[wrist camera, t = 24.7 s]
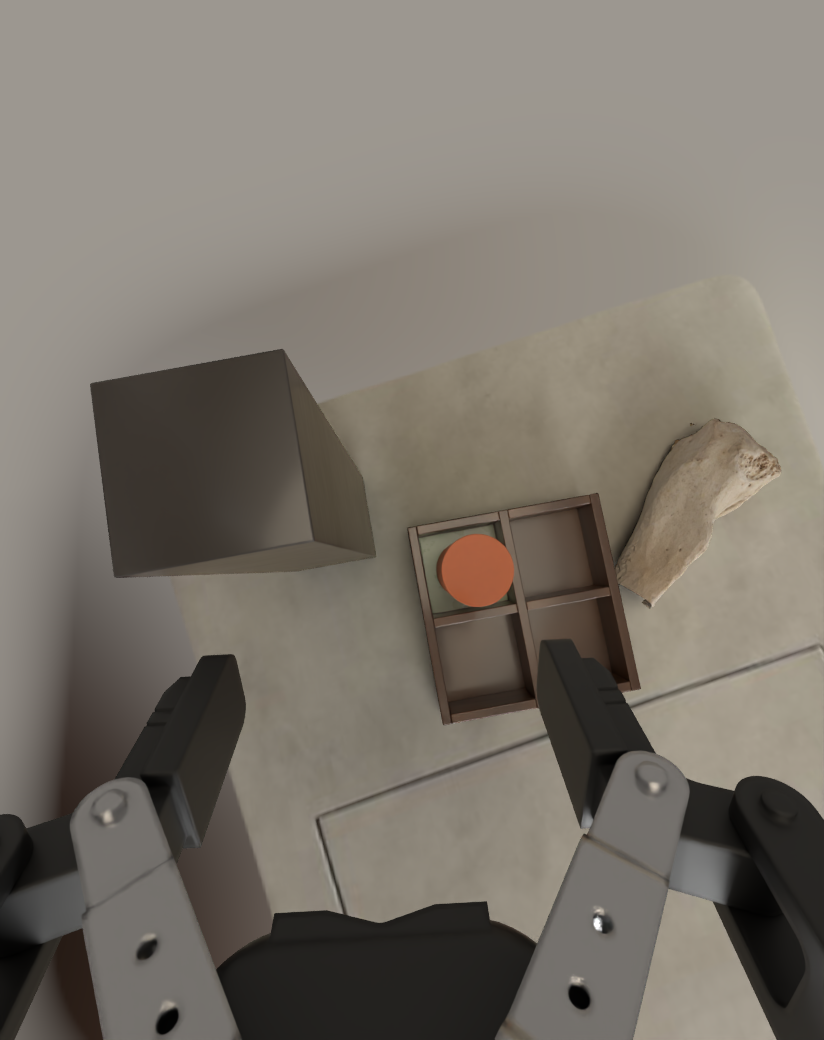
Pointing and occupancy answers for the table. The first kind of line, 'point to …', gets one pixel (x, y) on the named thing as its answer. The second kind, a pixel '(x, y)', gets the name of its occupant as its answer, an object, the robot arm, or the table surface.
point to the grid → (523, 606)
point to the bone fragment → (691, 504)
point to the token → (476, 570)
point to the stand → (225, 472)
